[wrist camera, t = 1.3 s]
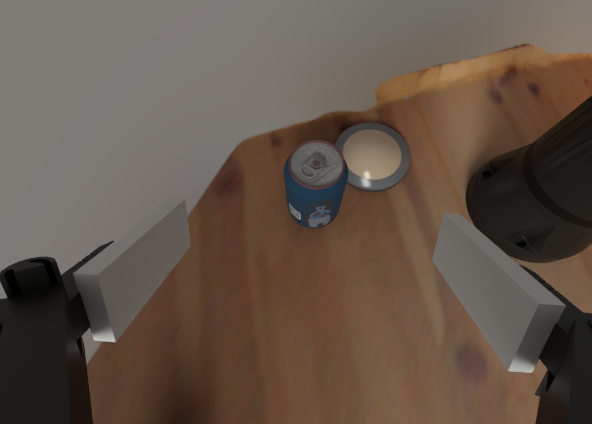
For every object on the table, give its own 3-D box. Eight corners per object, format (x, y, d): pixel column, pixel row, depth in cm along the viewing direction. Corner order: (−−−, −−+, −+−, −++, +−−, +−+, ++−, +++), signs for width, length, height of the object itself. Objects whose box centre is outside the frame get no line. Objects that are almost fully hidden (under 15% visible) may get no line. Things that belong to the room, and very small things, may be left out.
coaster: (393, 122, 46) (396, 116, 44) (418, 183, 42) (421, 179, 40) (325, 134, 45) (325, 129, 44) (343, 198, 41) (344, 194, 40)
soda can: (313, 176, 42) (317, 123, 31) (348, 208, 41) (365, 163, 29) (278, 206, 41) (268, 162, 30) (312, 241, 39) (316, 207, 28)
